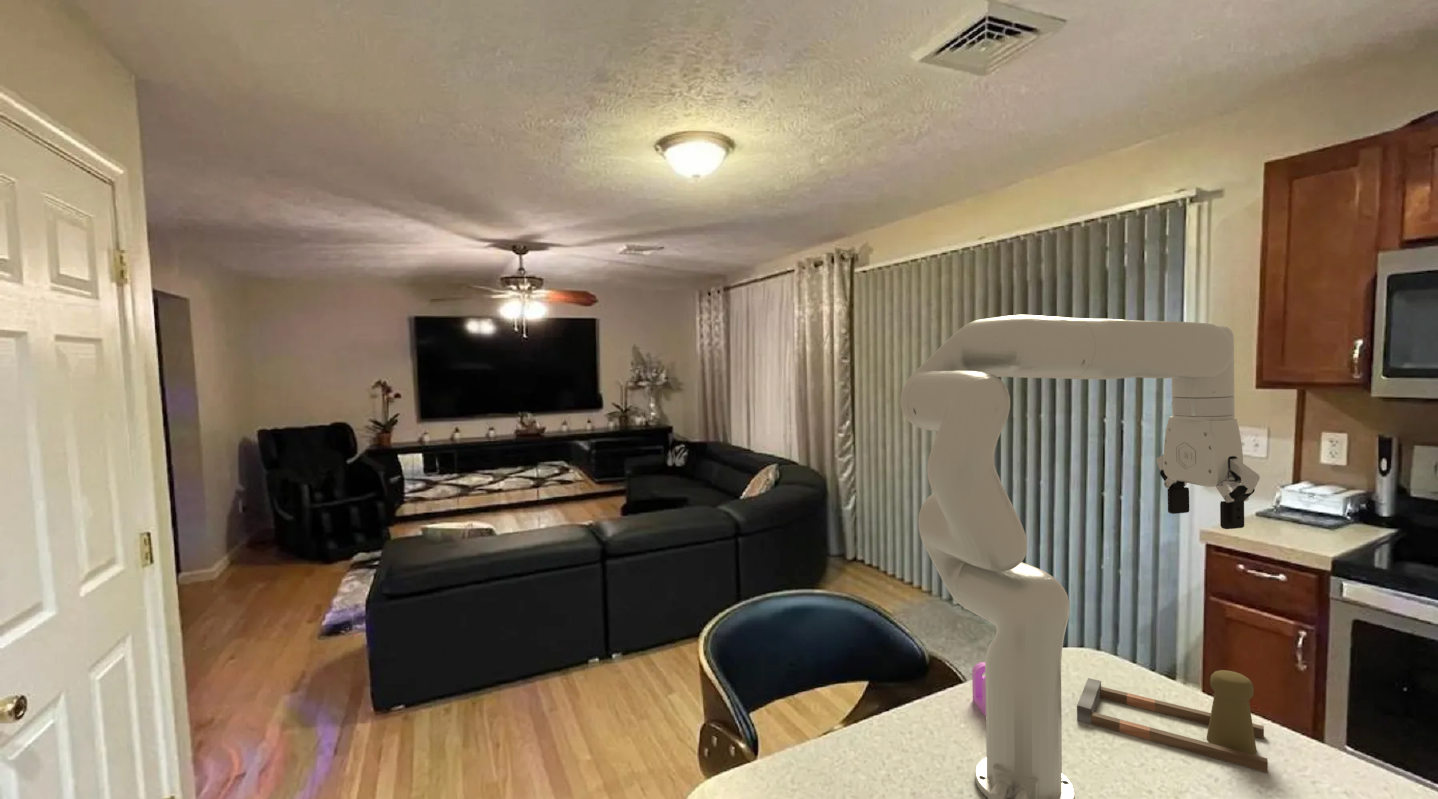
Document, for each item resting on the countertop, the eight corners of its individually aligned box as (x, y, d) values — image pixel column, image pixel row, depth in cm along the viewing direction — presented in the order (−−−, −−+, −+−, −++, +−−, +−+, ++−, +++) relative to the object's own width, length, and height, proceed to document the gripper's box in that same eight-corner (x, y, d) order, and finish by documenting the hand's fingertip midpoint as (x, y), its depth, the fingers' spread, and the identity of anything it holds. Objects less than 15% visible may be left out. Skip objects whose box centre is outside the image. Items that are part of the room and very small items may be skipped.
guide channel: (1267, 772, 91) (1267, 755, 91) (1077, 720, 106) (1077, 705, 106) (1263, 735, 100) (1263, 719, 100) (1088, 691, 115) (1088, 677, 115)
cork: (1266, 758, 95) (1267, 685, 94) (1219, 754, 96) (1220, 682, 95) (1241, 734, 101) (1242, 666, 100) (1198, 731, 102) (1198, 663, 101)
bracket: (985, 718, 108) (985, 677, 108) (972, 700, 113) (972, 662, 113) (1062, 715, 108) (1062, 675, 107) (1046, 698, 113) (1045, 660, 113)
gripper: (1137, 406, 105) (1139, 509, 106) (1229, 414, 88) (1231, 537, 89) (1179, 403, 106) (1181, 506, 107) (1280, 410, 89) (1281, 532, 89)
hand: (1204, 520), depth 98 cm, fingers open, 9 cm apart
